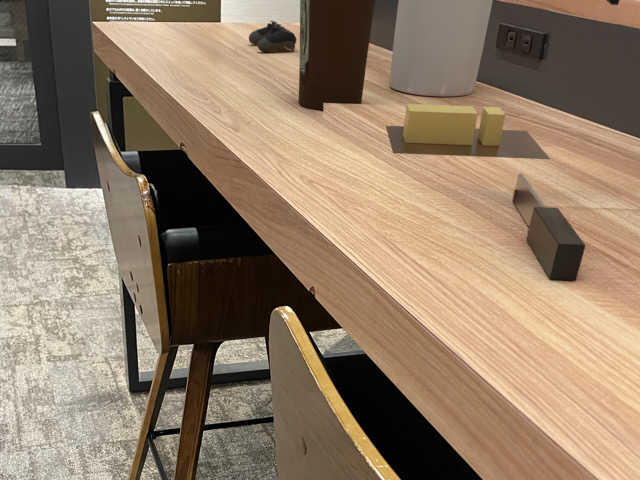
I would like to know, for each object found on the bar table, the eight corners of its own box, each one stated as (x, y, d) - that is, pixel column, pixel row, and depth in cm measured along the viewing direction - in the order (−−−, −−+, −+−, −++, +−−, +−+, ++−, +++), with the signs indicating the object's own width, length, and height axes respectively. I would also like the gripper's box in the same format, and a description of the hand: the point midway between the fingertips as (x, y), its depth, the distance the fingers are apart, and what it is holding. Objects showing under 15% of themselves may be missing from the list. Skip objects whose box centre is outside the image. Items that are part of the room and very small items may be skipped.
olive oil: (364, 98, 127) (384, -107, 111) (366, 113, 118) (388, -107, 103) (295, 96, 127) (306, -109, 112) (292, 110, 119) (304, -108, 103)
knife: (576, 281, 69) (586, 245, 67) (549, 279, 69) (558, 243, 67) (524, 202, 86) (531, 171, 84) (503, 201, 86) (509, 170, 84)
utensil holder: (487, 85, 137) (510, -43, 126) (467, 101, 126) (491, -37, 115) (401, 77, 141) (417, -47, 130) (375, 92, 131) (390, -42, 120)
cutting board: (524, 143, 106) (526, 130, 105) (547, 172, 95) (550, 158, 94) (384, 137, 107) (385, 125, 106) (391, 166, 96) (393, 152, 95)
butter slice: (493, 138, 101) (499, 107, 99) (499, 146, 98) (505, 114, 96) (477, 137, 101) (483, 106, 99) (482, 145, 98) (488, 113, 96)
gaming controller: (246, 41, 168) (252, 13, 165) (281, 51, 170) (287, 23, 167) (257, 51, 159) (264, 21, 156) (294, 61, 161) (301, 32, 158)
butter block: (467, 137, 101) (473, 106, 99) (472, 145, 98) (478, 113, 96) (402, 135, 102) (406, 103, 100) (405, 142, 99) (409, 110, 97)
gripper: (726, -266, 62) (652, 1, 73) (494, -264, 65) (455, -9, 76) (750, -282, 57) (665, 10, 67) (494, -279, 60) (452, 0, 70)
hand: (554, 0), depth 72 cm, fingers open, 9 cm apart
